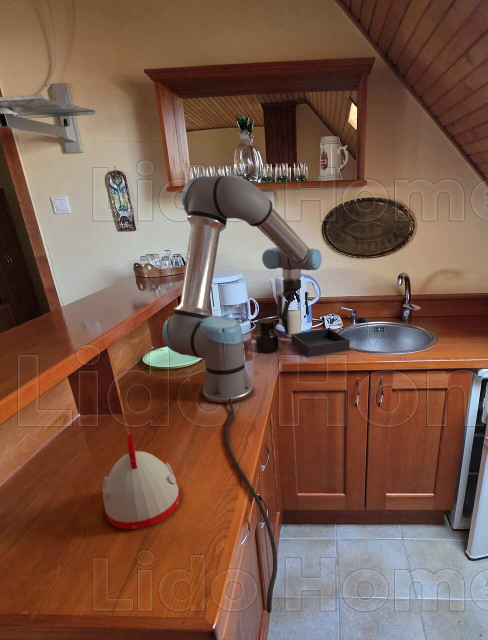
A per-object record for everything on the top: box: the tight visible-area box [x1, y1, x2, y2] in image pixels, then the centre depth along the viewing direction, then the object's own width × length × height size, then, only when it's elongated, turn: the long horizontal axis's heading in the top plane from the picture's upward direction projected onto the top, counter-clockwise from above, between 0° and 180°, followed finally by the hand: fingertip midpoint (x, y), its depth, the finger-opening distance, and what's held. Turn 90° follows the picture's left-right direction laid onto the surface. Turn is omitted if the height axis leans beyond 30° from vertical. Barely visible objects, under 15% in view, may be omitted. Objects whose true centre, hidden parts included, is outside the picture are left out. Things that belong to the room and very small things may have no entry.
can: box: [286, 309, 302, 339], centre depth 180 cm, size 6×6×12 cm
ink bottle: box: [255, 317, 280, 354], centre depth 165 cm, size 10×9×12 cm
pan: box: [290, 328, 350, 358], centre depth 168 cm, size 18×18×4 cm
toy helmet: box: [102, 433, 181, 530], centre depth 81 cm, size 14×14×15 cm
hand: (293, 332), depth 182 cm, fingers closed on can, 6 cm apart
